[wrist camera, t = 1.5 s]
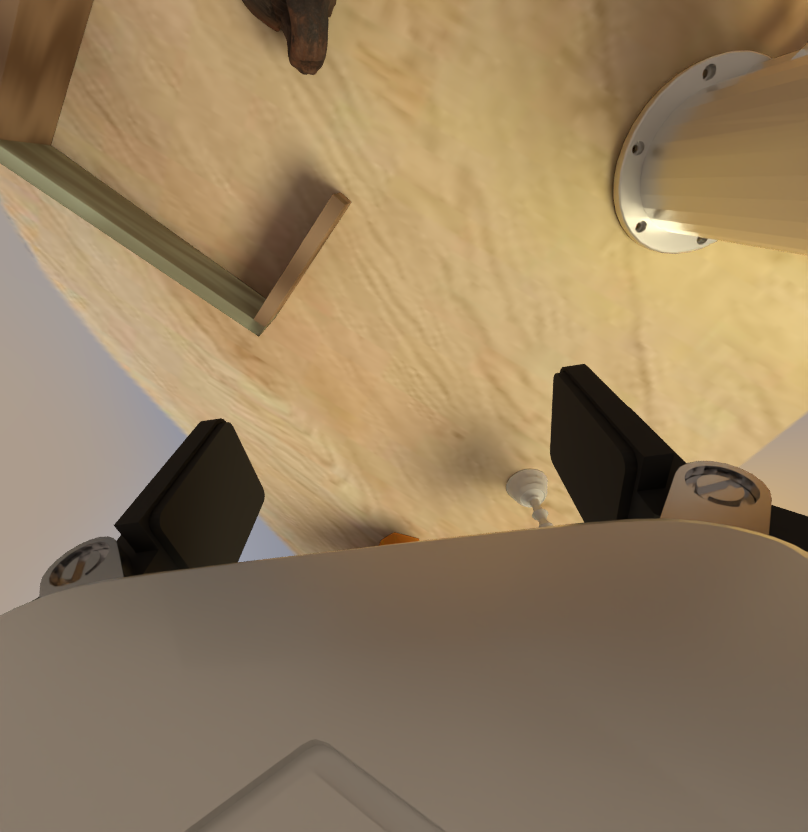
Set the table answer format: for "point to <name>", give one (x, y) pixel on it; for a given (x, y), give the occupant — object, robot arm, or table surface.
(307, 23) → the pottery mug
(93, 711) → the robot arm
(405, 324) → the table surface
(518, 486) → the chalice
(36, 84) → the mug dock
